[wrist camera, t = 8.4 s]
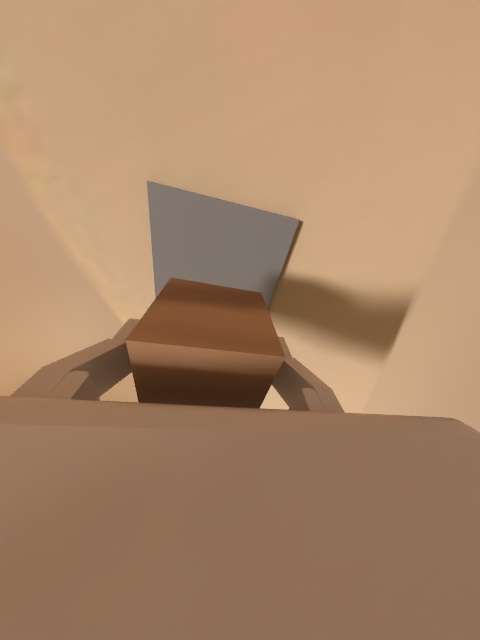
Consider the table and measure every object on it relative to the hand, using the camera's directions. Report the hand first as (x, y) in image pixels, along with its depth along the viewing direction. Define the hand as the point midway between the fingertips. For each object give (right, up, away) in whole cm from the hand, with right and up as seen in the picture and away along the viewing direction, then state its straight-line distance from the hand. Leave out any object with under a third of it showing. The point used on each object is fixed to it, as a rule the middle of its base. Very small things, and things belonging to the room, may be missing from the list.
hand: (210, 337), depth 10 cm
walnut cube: (0, +1, +1) cm, 2 cm away
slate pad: (-1, +6, +8) cm, 10 cm away
